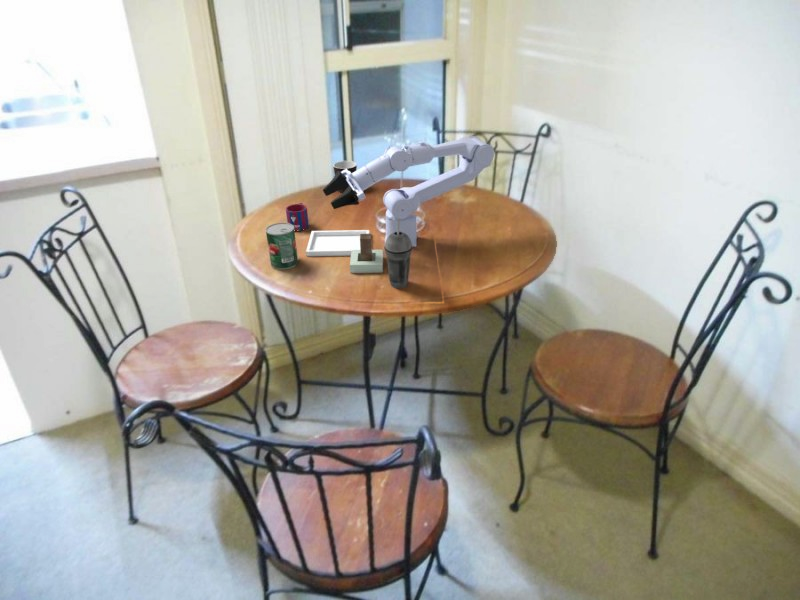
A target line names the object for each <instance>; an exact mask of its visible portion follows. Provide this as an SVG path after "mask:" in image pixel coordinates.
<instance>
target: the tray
mask: <svg viewBox="0 0 800 600" xmlns="http://www.w3.org/2000/svg"><path fill="white" fill-rule="evenodd" d="M360 234H370V229H355V230H353V229H352V230H349V229H346V230H311V232H310V236H309V240H308V243H307V247H306V250H305V256H306V257H337V256H341V257H342V256H343V257H344V256H345V257H346V256H349V257H351V251H352V250H360Z"/></svg>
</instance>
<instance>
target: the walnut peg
mask: <svg viewBox="0 0 800 600" xmlns="http://www.w3.org/2000/svg"><path fill="white" fill-rule="evenodd" d="M372 242H373V241H372V233H369V234H360V250H361V261H372V250H373V243H372Z"/></svg>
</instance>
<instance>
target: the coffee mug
mask: <svg viewBox="0 0 800 600" xmlns="http://www.w3.org/2000/svg"><path fill="white" fill-rule="evenodd" d="M357 164H358V163H357V162H355V161H351V160H340V161H337V162H335V163H333V164H332V167H333V173H334V176H335V175H336V173H337V171H340V173H341V172H342V171H343V170H345V169H347V170H348V171H350V172H351V173H353V172H355V171H357V170H358V169H357V166H358V165H357ZM341 174H342V173H341ZM349 182H350V181H349ZM347 184H348V182H347ZM351 185H352V186H353V187H354V185H353V184H351ZM348 186H350V185H349V184H348ZM354 189H355V188H354ZM345 190H346V189H342V190H339V191H337V192H338V193H339V192H340V193H339V194H341V193H343V192H344V191H345Z"/></svg>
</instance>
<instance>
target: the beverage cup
mask: <svg viewBox="0 0 800 600" xmlns="http://www.w3.org/2000/svg"><path fill="white" fill-rule="evenodd" d="M412 249H413V247H412V243H411V240H410V238H409V236H408V235H406V234H405V233H403V232H399V218H397V232H394V233H391V234H390V235H389V236H388V237H387V239H386V242H385V241H384V251H385V255H386V261H387V262H386V263H387V269H388V277H389V284H390V286H391V287H392V288H395V289H405V288H407V286H408V284H409V274H410V262H411V256H412Z"/></svg>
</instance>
